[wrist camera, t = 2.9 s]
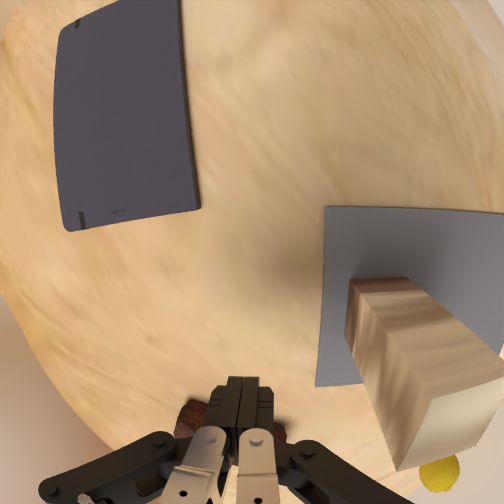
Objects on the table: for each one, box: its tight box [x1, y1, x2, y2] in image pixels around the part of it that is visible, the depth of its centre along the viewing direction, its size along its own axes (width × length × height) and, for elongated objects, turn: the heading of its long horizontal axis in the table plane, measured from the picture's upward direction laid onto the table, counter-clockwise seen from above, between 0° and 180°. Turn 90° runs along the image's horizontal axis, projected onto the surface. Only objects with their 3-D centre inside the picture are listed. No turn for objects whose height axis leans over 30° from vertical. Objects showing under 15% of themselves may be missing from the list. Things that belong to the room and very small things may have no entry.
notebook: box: [53, 0, 200, 232], centre depth 20 cm, size 13×2×21 cm
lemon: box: [419, 455, 460, 492], centre depth 23 cm, size 6×6×8 cm
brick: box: [174, 400, 287, 466], centre depth 24 cm, size 11×4×5 cm, turn 73°
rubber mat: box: [315, 206, 504, 387], centre depth 22 cm, size 16×23×1 cm
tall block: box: [344, 277, 504, 472], centre depth 15 cm, size 5×5×14 cm
